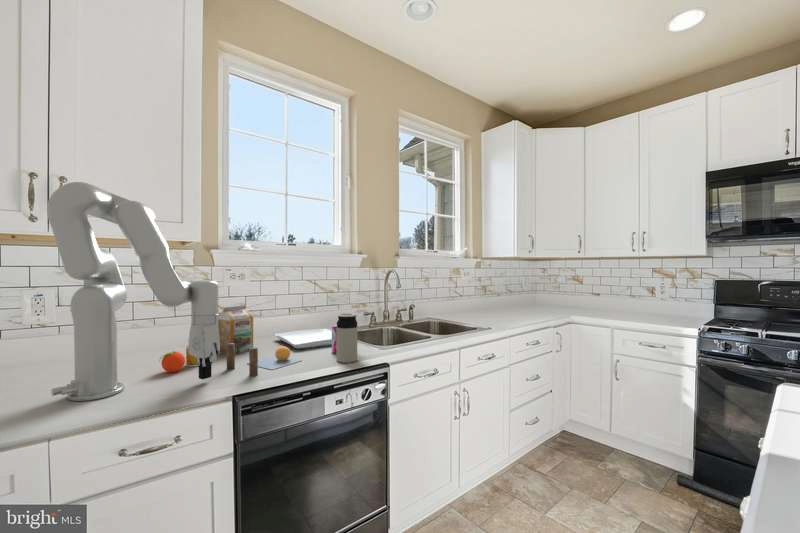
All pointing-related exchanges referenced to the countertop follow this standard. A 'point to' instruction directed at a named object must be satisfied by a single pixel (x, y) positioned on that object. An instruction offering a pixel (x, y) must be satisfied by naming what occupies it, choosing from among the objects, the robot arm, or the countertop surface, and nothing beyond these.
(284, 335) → the square plate
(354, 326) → the travel mug
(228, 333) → the milk carton
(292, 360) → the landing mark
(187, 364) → the supplement bottle
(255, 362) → the right post
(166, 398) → the countertop surface
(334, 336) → the supplement box
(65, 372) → the countertop surface
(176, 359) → the tomato
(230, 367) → the left post
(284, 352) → the ball
